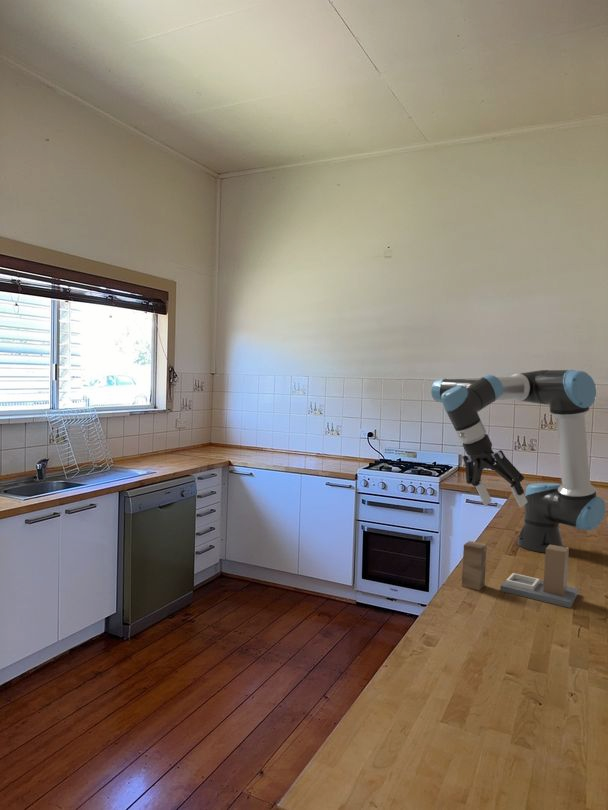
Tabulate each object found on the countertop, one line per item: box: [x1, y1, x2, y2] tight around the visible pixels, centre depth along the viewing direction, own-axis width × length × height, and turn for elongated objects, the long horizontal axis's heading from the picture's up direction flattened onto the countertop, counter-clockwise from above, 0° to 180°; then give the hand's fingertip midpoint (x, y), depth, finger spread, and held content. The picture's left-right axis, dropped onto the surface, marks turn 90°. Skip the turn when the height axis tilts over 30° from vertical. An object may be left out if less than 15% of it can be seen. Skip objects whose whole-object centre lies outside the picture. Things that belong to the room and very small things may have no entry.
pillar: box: [461, 540, 488, 591], centre depth 160 cm, size 5×5×12 cm
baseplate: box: [500, 544, 579, 609], centre depth 157 cm, size 12×18×14 cm, turn 55°
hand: (505, 504), depth 161 cm, fingers open, 13 cm apart
